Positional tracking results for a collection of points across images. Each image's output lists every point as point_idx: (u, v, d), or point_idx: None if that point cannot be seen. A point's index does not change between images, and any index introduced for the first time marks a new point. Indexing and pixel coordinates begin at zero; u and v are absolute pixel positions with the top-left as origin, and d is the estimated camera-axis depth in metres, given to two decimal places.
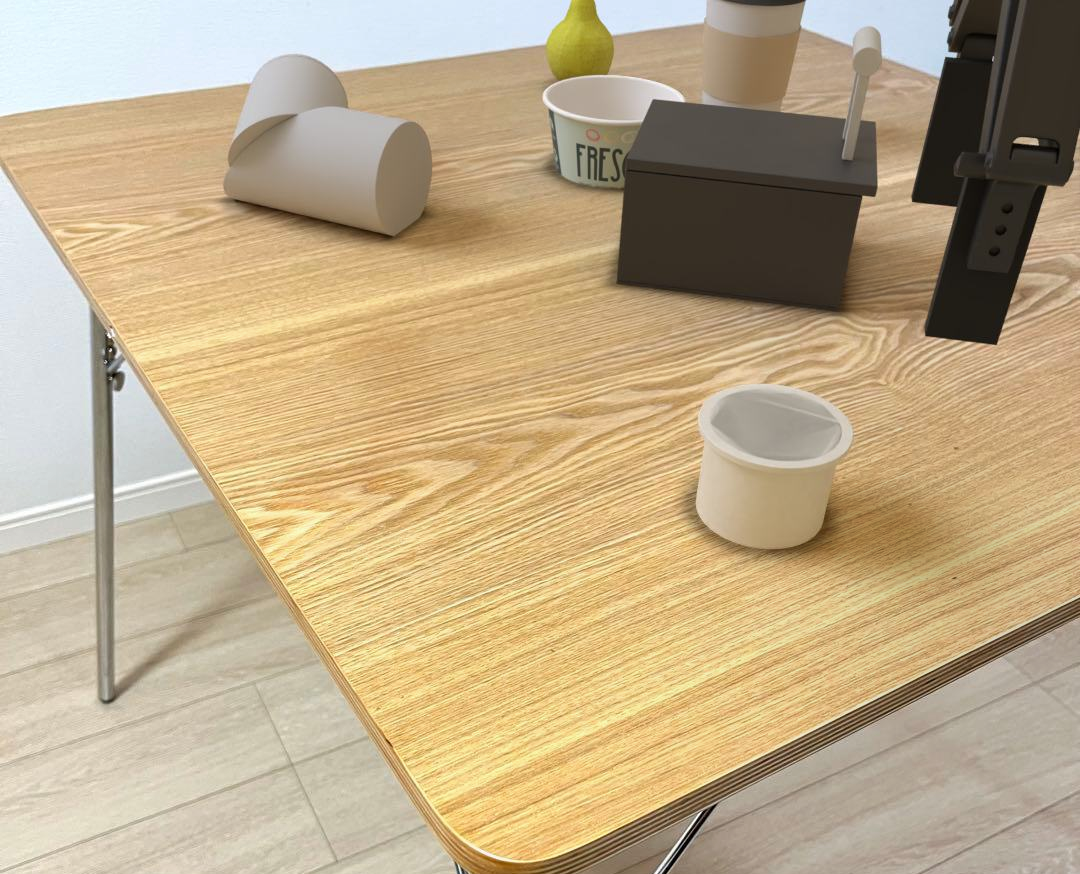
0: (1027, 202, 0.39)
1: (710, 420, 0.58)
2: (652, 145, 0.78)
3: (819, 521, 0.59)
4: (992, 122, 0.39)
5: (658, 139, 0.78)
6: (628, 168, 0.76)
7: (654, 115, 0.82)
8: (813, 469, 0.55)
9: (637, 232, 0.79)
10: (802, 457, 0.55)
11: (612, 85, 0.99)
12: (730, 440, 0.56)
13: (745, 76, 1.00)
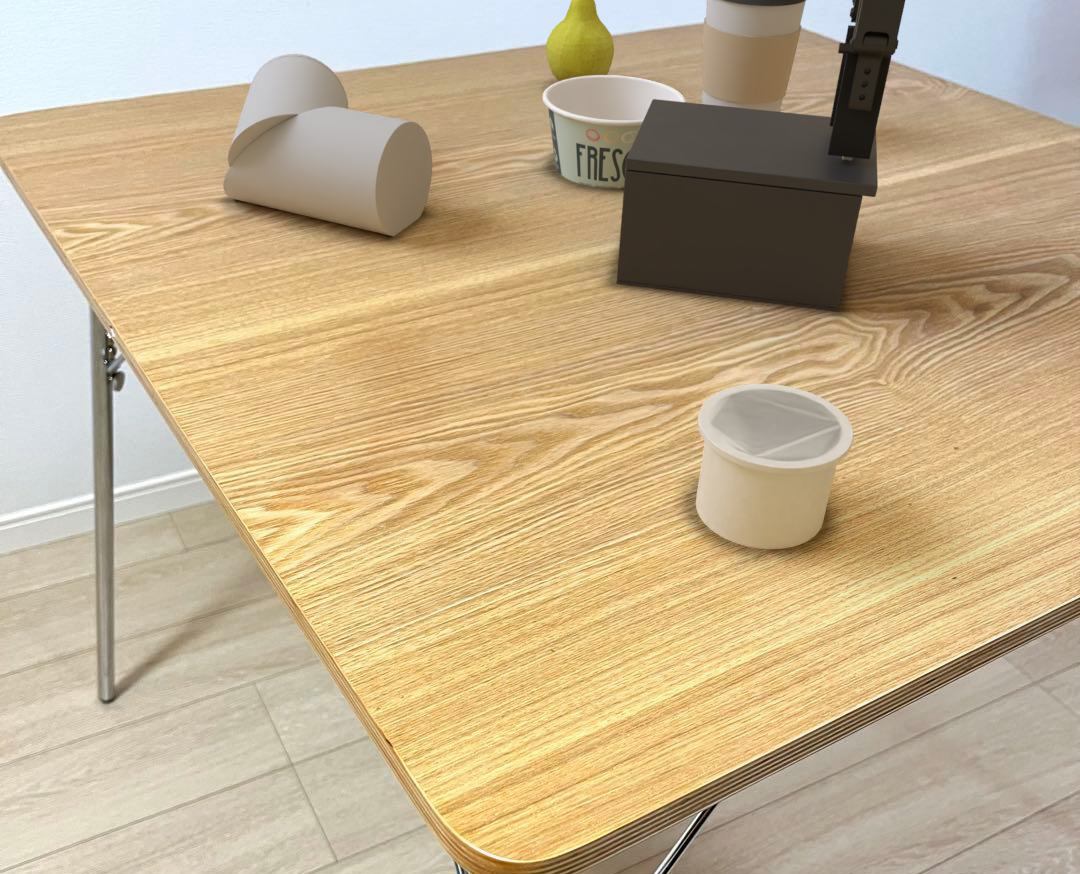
0: (878, 67, 0.71)
1: (710, 420, 0.58)
2: (652, 145, 0.78)
3: (819, 521, 0.59)
4: (857, 24, 0.70)
5: (658, 139, 0.78)
6: (628, 168, 0.76)
7: (654, 115, 0.82)
8: (813, 469, 0.55)
9: (637, 232, 0.79)
10: (802, 457, 0.55)
11: (612, 85, 0.99)
12: (730, 440, 0.56)
13: (745, 76, 1.00)
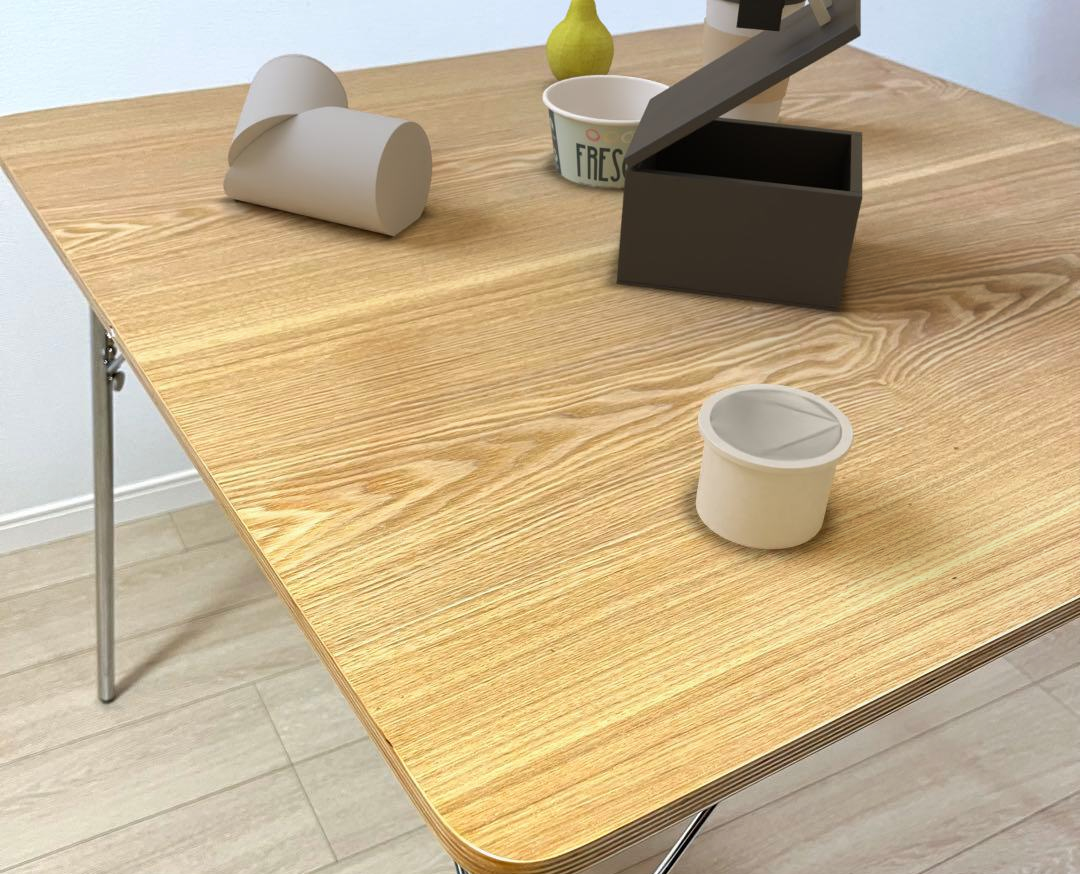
0: None
1: (710, 420, 0.58)
2: (645, 134, 0.77)
3: (819, 521, 0.59)
4: None
5: (652, 125, 0.78)
6: (630, 166, 0.76)
7: (649, 110, 0.82)
8: (813, 469, 0.55)
9: (637, 232, 0.79)
10: (802, 457, 0.55)
11: (612, 85, 0.99)
12: (730, 440, 0.56)
13: None
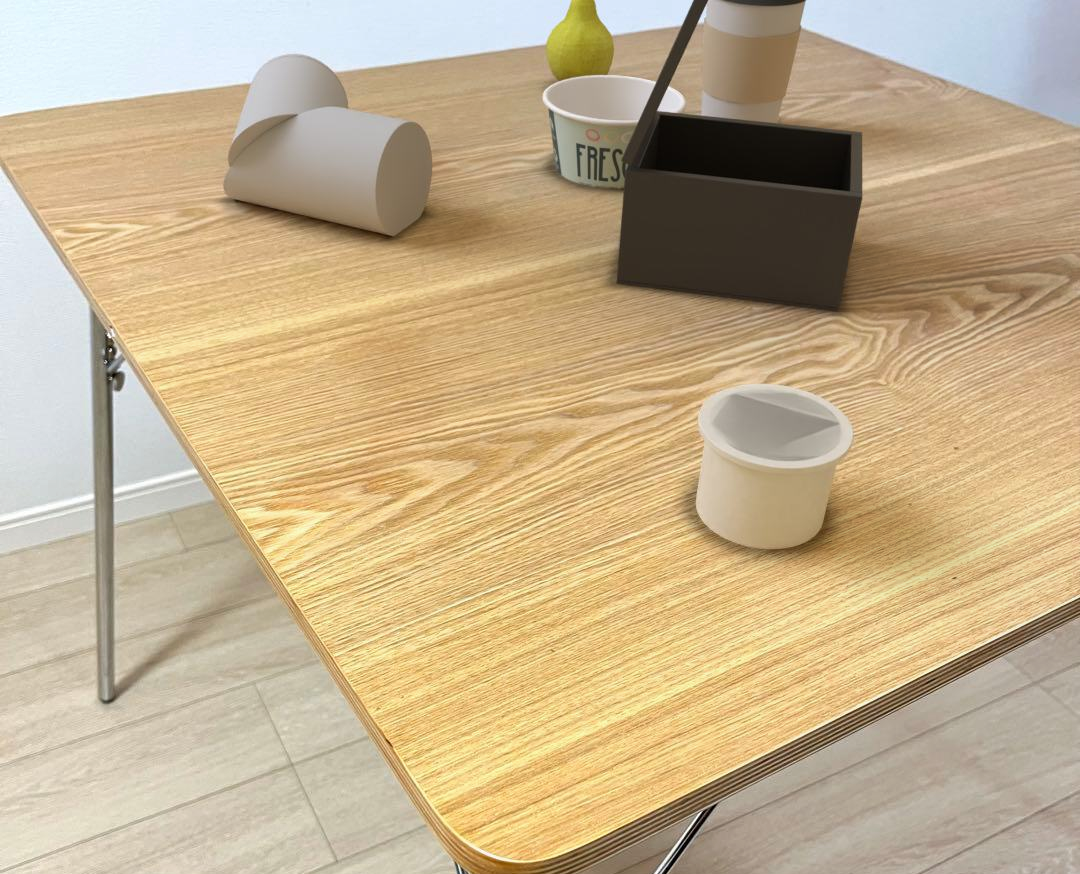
0: None
1: (710, 420, 0.58)
2: None
3: (819, 521, 0.59)
4: None
5: None
6: (630, 162, 0.76)
7: None
8: (813, 469, 0.55)
9: (637, 232, 0.79)
10: (802, 457, 0.55)
11: (612, 85, 0.99)
12: (730, 440, 0.56)
13: (745, 76, 1.00)
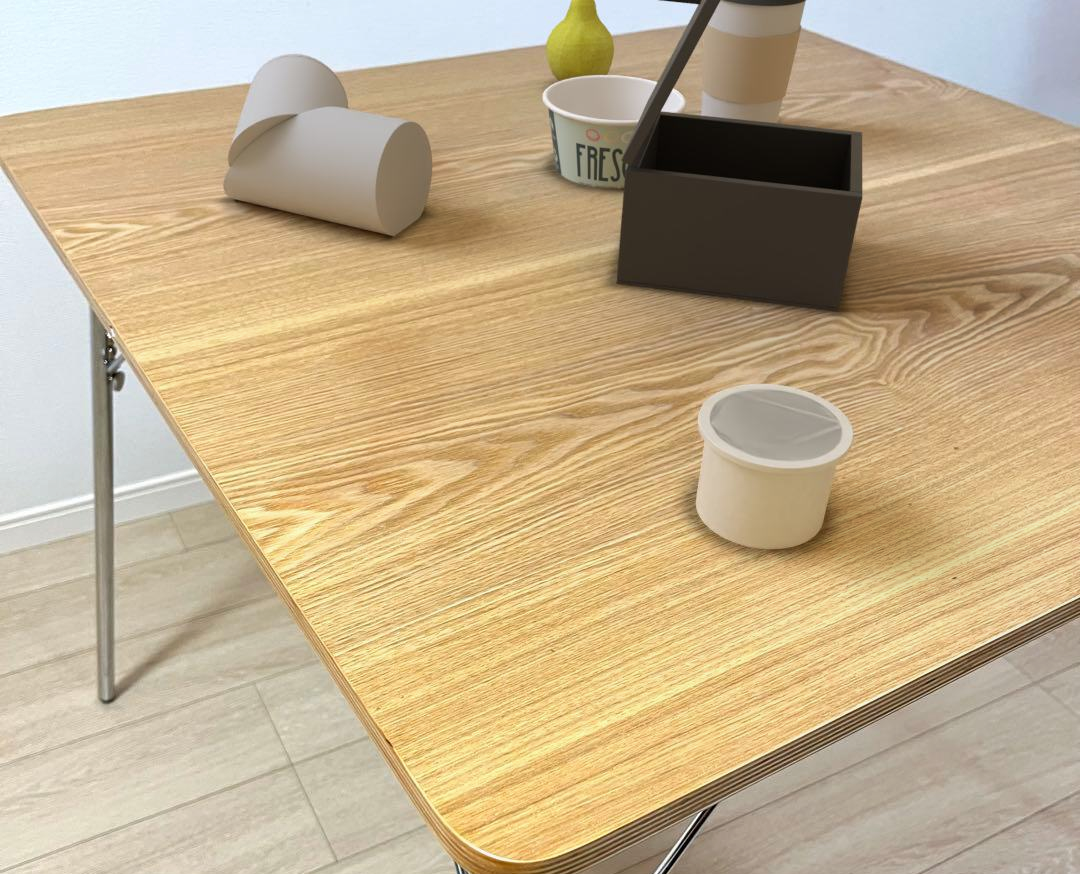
0: None
1: (710, 420, 0.58)
2: (636, 129, 0.77)
3: (819, 521, 0.59)
4: None
5: None
6: (630, 163, 0.76)
7: None
8: (813, 469, 0.55)
9: (637, 232, 0.79)
10: (802, 457, 0.55)
11: (612, 85, 0.99)
12: (730, 440, 0.56)
13: (745, 76, 1.00)
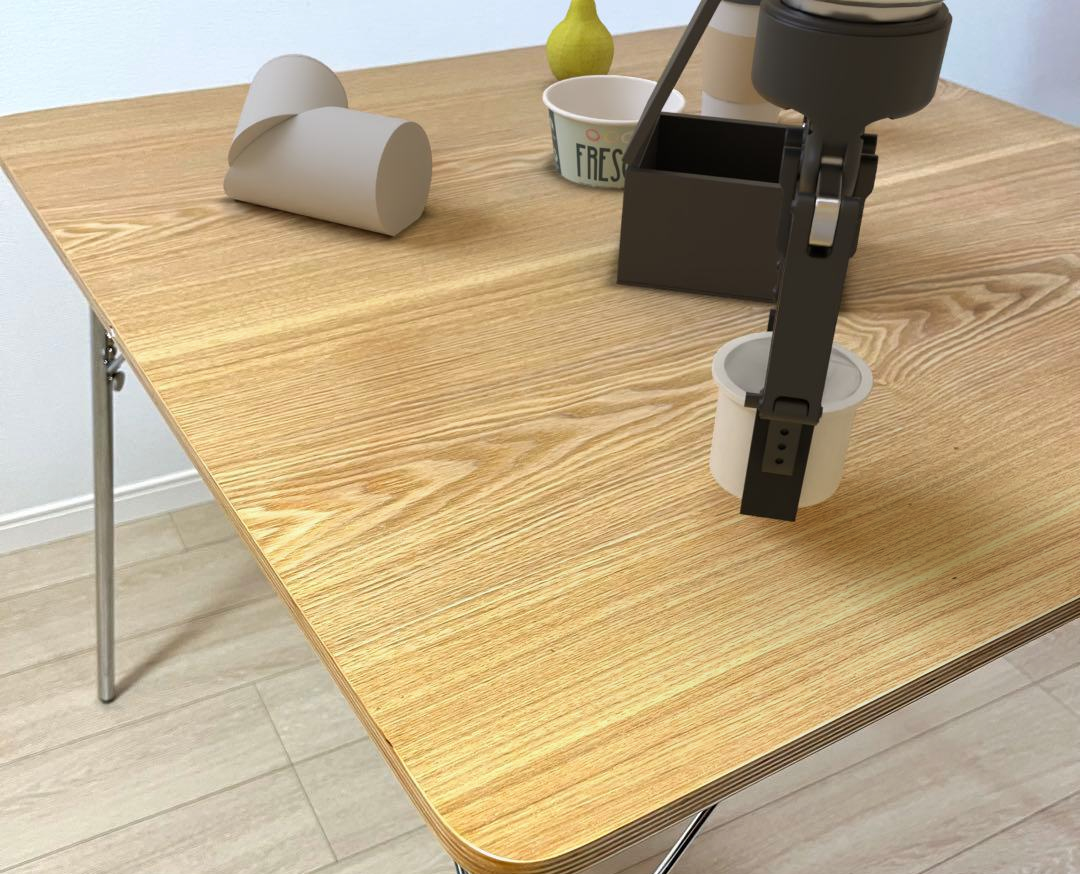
0: (798, 428, 0.51)
1: (725, 367, 0.56)
2: (636, 129, 0.77)
3: (838, 471, 0.57)
4: None
5: (641, 118, 0.78)
6: (630, 163, 0.76)
7: (644, 109, 0.82)
8: (832, 414, 0.53)
9: (637, 232, 0.79)
10: (821, 403, 0.53)
11: (612, 85, 0.99)
12: (746, 386, 0.54)
13: (745, 76, 1.00)
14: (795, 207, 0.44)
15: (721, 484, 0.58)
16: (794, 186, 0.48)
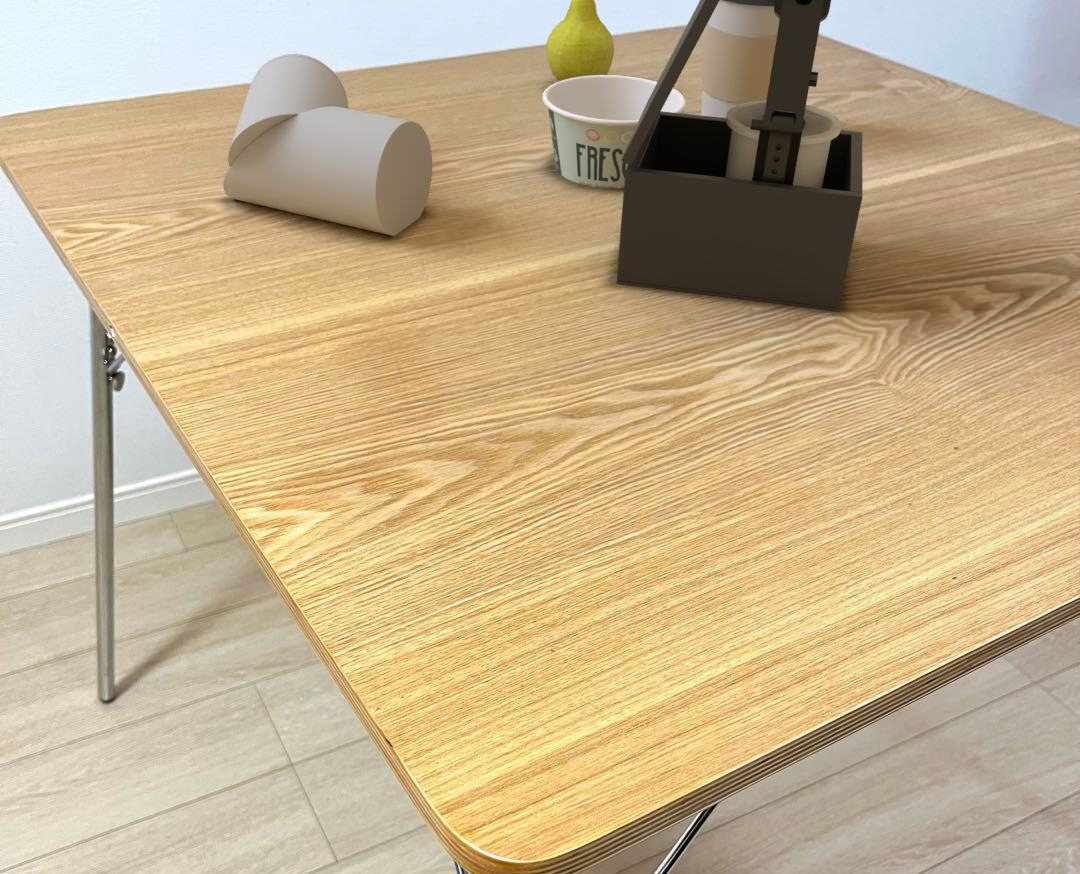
0: (788, 143, 0.73)
1: (735, 116, 0.78)
2: (636, 129, 0.77)
3: None
4: None
5: None
6: (630, 163, 0.76)
7: None
8: (811, 141, 0.75)
9: (637, 232, 0.79)
10: (803, 134, 0.76)
11: (612, 85, 0.99)
12: (750, 126, 0.77)
13: (745, 76, 1.00)
14: None
15: None
16: None
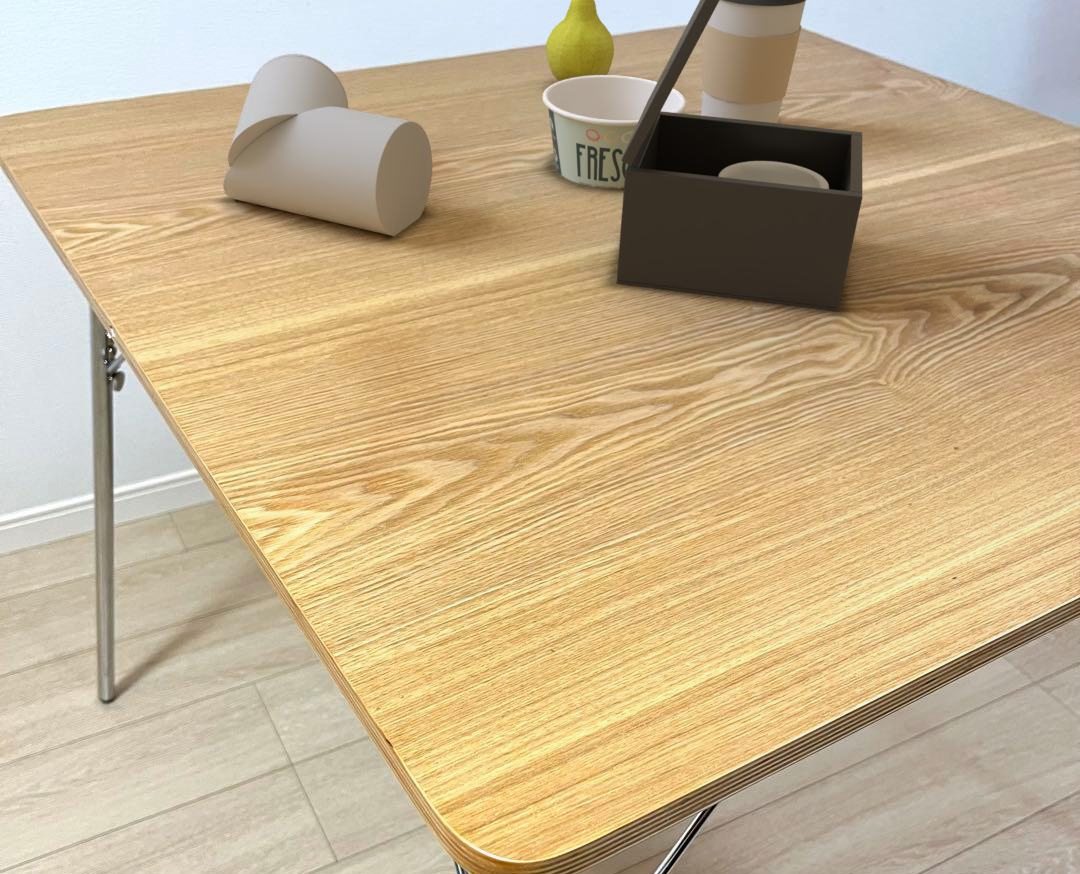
0: None
1: None
2: (636, 129, 0.77)
3: None
4: None
5: None
6: (630, 163, 0.76)
7: None
8: None
9: (637, 232, 0.79)
10: None
11: (612, 85, 0.99)
12: None
13: (745, 76, 1.00)
14: None
15: None
16: None
